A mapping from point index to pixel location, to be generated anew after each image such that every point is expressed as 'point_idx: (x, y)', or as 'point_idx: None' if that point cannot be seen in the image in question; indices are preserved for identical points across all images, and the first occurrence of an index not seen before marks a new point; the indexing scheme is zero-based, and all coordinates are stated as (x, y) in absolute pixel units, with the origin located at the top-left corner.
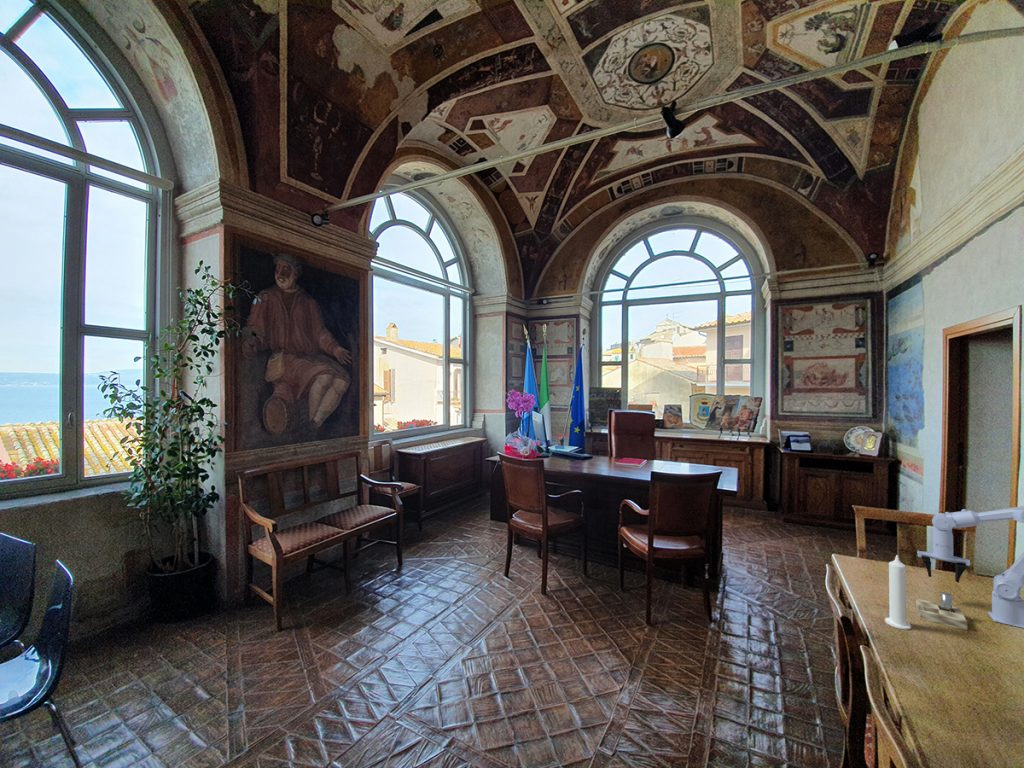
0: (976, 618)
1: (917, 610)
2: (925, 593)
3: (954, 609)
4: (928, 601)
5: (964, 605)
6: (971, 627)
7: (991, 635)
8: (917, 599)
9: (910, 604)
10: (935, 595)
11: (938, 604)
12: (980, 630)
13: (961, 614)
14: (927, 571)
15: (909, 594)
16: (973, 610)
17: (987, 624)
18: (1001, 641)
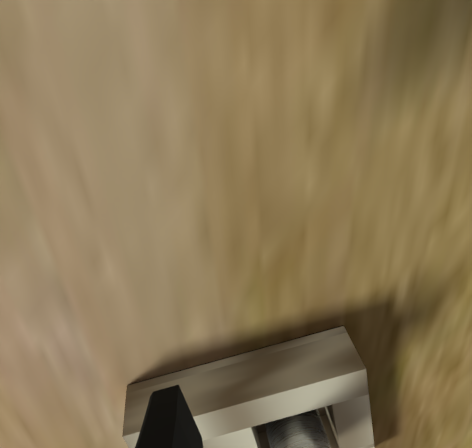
0: (425, 279)
1: None
2: (93, 32)
3: (337, 412)
4: (198, 420)
5: (393, 74)
6: (381, 411)
7: (445, 421)
8: None
9: (98, 386)
10: (176, 4)
11: (254, 416)
12: (412, 410)
13: (366, 445)
14: (136, 443)
15: (14, 205)
16: (437, 140)
17: (462, 316)
18: (467, 441)
